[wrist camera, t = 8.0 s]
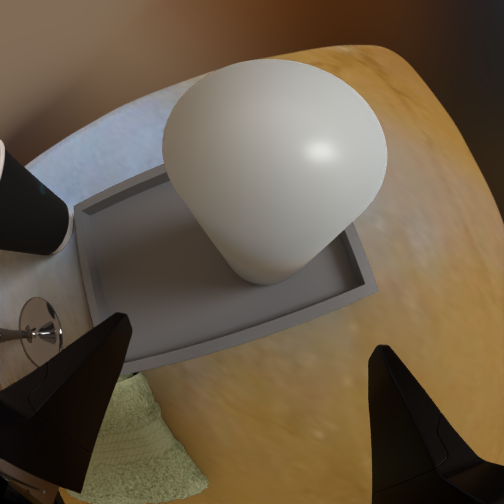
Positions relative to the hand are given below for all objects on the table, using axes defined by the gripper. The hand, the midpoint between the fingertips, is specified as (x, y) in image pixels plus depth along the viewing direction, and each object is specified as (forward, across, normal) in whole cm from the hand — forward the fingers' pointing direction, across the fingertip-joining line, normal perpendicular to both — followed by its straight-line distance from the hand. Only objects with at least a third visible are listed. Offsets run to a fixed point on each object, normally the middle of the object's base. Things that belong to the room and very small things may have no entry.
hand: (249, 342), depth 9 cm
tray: (+11, +4, +4) cm, 12 cm away
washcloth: (-2, +12, +18) cm, 22 cm away
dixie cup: (+11, +20, +4) cm, 23 cm away
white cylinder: (+11, 0, +2) cm, 11 cm away
